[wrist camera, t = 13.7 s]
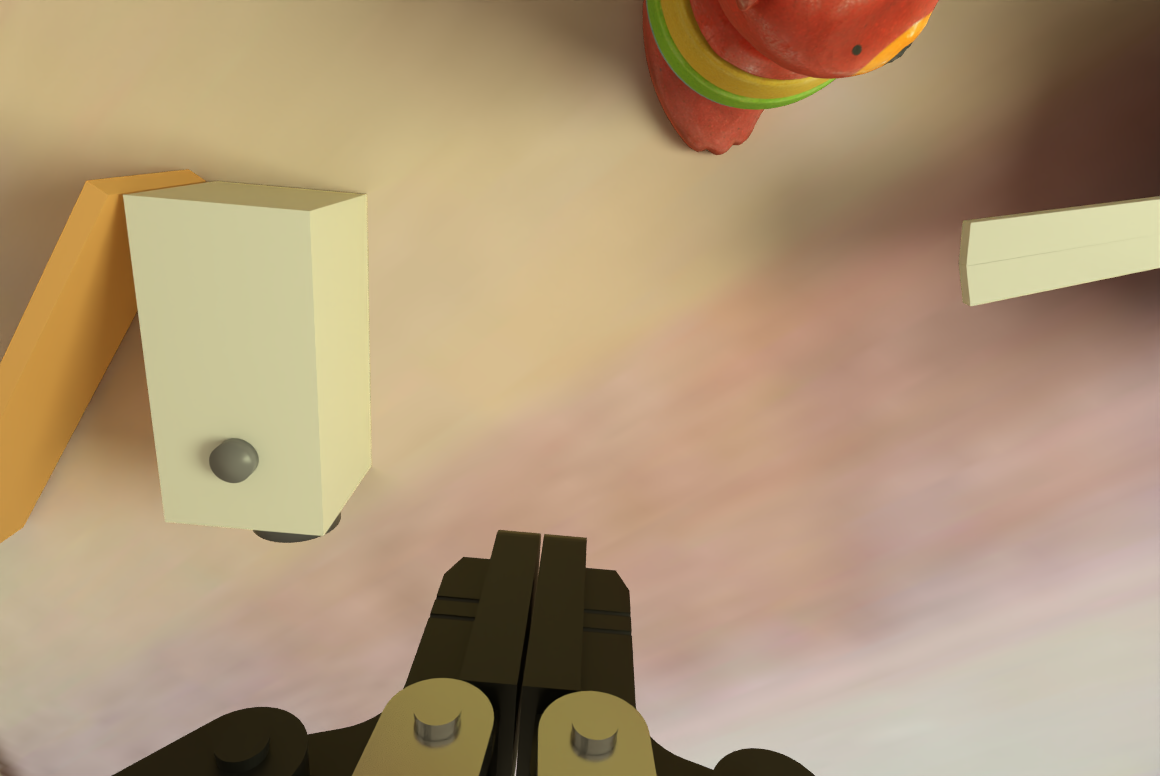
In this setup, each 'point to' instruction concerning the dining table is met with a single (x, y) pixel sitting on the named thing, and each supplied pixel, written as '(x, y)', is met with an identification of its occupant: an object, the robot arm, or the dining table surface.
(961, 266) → the decorative object
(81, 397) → the side door
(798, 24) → the stacking bear
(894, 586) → the dining table surface
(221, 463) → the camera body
